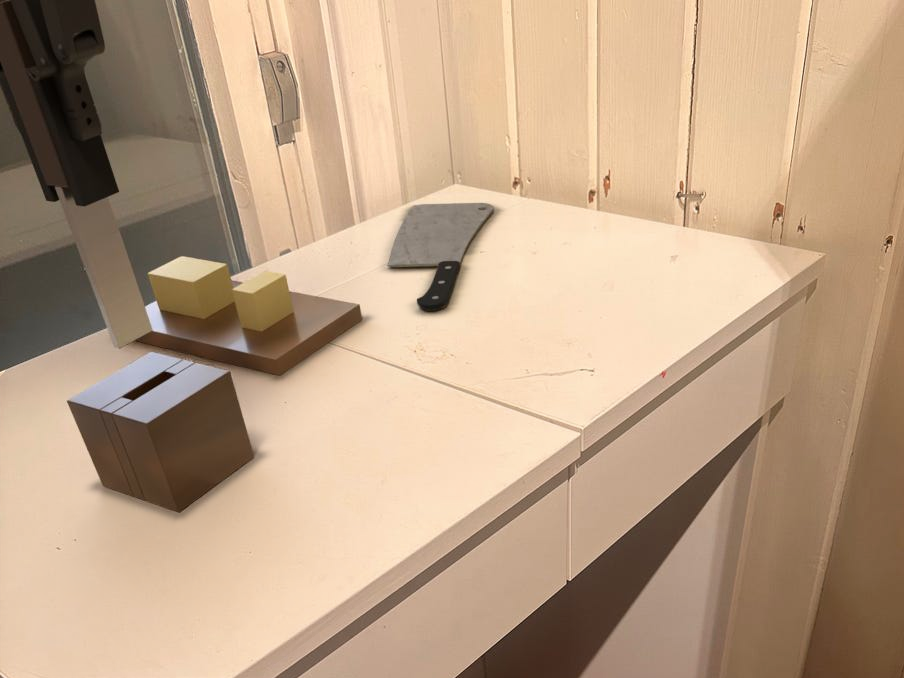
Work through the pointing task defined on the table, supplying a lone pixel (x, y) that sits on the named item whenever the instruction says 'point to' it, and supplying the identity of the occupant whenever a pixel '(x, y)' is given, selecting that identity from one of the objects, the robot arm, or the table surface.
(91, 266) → the knife
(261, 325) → the block
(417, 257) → the cleaver
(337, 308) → the board
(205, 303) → the butter block
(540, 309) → the table surface
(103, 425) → the knife block
